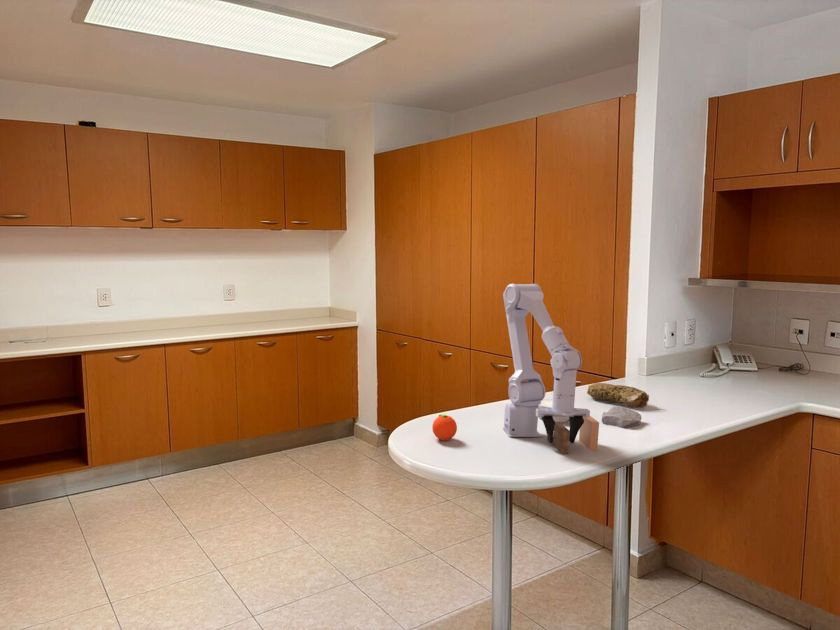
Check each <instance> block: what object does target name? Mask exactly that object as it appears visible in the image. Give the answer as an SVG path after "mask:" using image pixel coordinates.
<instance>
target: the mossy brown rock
mask: <svg viewBox="0 0 840 630" xmlns="http://www.w3.org/2000/svg"><path fill="white" fill-rule="evenodd" d="M586 394H587V395H588V396H590V397H591V398H593V399H595V400H598V401H601V402H606V403H607V402H608V403H613V404H614V403H615V404H617V403H618V404H622V405H626V406H627V407H631V408H645V407H646V406H647V405H648V402H649V400H650V398H649V397H650V396H649V394H647V393H646V391H644V390H641V389H638V388H636V387H633V386H629V385H622V384H612V383H611V384H610V383H606V382H604V383H603V382H596V383H593V384H589V385H588V388H587V391H586Z"/></svg>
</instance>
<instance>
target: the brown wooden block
mask: <svg viewBox="0 0 840 630" xmlns="http://www.w3.org/2000/svg"><path fill="white" fill-rule="evenodd" d="M569 439H570V429H569V428H567V427H566V426H565V425H564V424H563V423H560V422H555V426H554V431H553V444H552V446H553V447H554V448H555V449H556V450H558V451H559V452H560V454H561V455H569V453H570V442H569Z"/></svg>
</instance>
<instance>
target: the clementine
mask: <svg viewBox="0 0 840 630" xmlns="http://www.w3.org/2000/svg"><path fill="white" fill-rule="evenodd" d="M431 428H432V432H433V434H434V436H435V437H436V438H437V439H438V440H441V441H449V440H451V439H452V438H454V437H455V435H456V433H457V431H458V425H457V422H456V420H455V419H454V418H453V417H452V416H450V415H447V414H439V415H438V416H437V417H436V418H435V419H434V421H433V423H432V427H431Z"/></svg>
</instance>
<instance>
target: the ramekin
mask: <svg viewBox="0 0 840 630" xmlns="http://www.w3.org/2000/svg"><path fill="white" fill-rule="evenodd" d="M552 405H553V398H546V399H545V398H544V399H543V400H542V401H541V404H539V407H538V409H541V408H550V407H552ZM538 419H540V420H541V421H543V420H542V418H541V417H538ZM553 420H554V421H555V422H560V423H561V424H563V423H566V422H568V421H569V417H553Z"/></svg>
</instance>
